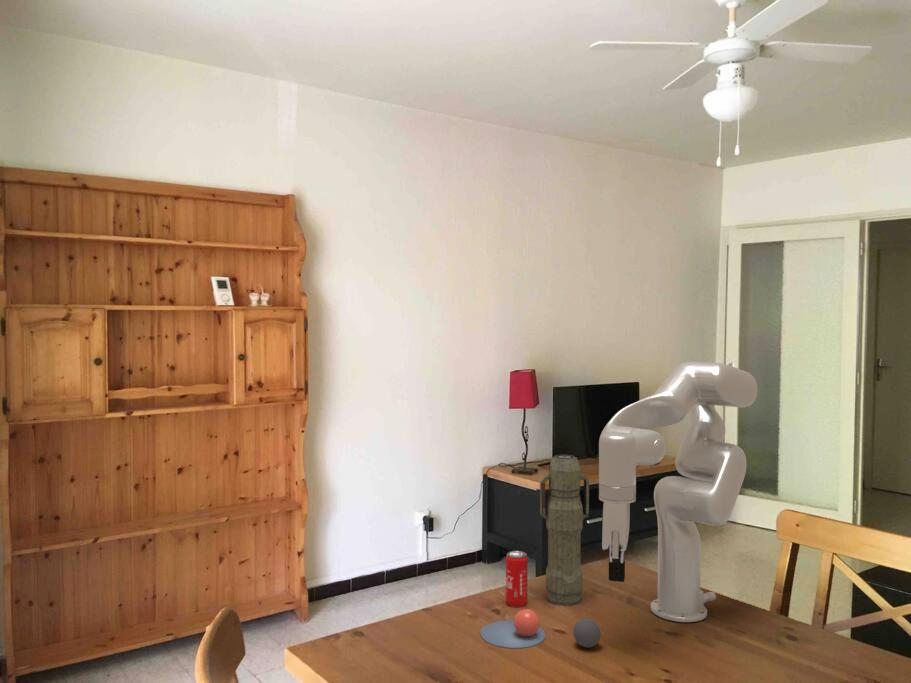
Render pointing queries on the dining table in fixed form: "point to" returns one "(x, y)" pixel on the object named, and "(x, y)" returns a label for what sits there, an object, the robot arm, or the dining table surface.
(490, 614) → the dining table surface
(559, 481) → the thermos
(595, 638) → the gray ball
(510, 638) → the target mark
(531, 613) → the red ball
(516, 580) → the beverage can
